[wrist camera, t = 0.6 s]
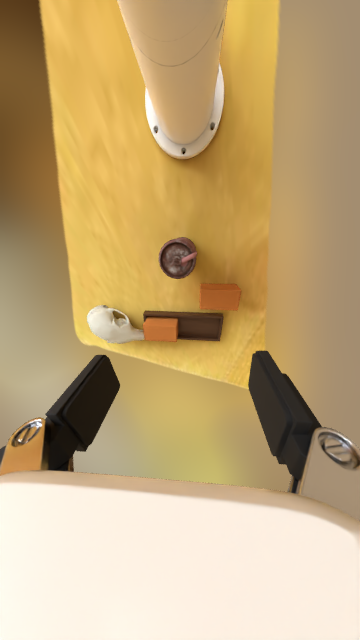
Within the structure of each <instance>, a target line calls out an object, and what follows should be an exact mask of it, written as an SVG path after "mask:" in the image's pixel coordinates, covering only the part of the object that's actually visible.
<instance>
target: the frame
mask: <svg viewBox="0 0 360 640" xmlns="http://www.w3.org/2000/svg"><path fill="white" fill-rule="evenodd" d="M143 315H144V322H145V321H146V319H147V317H172V318H178V336H177V339H186V340H206V341H220V337H221V330H222V324H223V314H221V313H194V312H166V311H145V312H144V314H143Z"/></svg>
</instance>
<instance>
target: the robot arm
mask: <svg viewBox="0 0 360 640" xmlns="http://www.w3.org/2000/svg"><path fill="white" fill-rule="evenodd" d="M117 2H118V5H119V7H120V10H121V13H122V16H123V20H124V23H125V26H126V29H127V32H128V35H129V38H130V41H131V43H132V46H133V49H134V52H135V55H136V58H137V61H138V64H139V67H140V70H141V73H142V76H143V79H144V82H145V85H146V93H145V105H146V113H147V119H148V122H149V126H150V129H151V131H152V134H153V136H154V138H155V140H156V142H157V143H158V145H159V146H160V147H161V149H162V150H163V151H165V152H166V153H167V154H168V155H170V156H172V157H174V158H177V159H188V158H192V157H194V156H196V155H198V154H199V153H201V152H202V151H203V150H204V149H205V148H206V147H207V146H208V144H209V143H210V142H211V140H212V138H213V137H214V135H215V133H216V130H217V128H218V126H219V122H220V119H221V115H222V110H223V103H224V80H223V74H222V69H221V66H220V63H219V60H220V53H221V46H222V38H223V31H224V24H225V16H226V9H227V2H228V0H117ZM211 128H213V130H211ZM156 131H158V133H156ZM183 152H185V154H183ZM248 386H249V391H250V394H251V396H252V399H253V402H254V405H255V408H256V410H257V414H258V416H259V419H260V422H261V425H262V428H263V431H264V434H265V436H266V439H267V442H268V445H269V448H270V451H271V453H272V455H273V456H276V457H277V460H278V462H279V464H286V465H287V467H288V470H289V472H290V474H291V475H292V478H291V481H290V485H289V488H288V492H283V491H277V490H271V489H262V488H252V487H244V486H234V485H223V484H213V483H200V482H190V481H179V480H167V479H155V478H143V477H132V476H120V475H107V474H94V473H81V472H74V468H73V454H74V452H75V450H77V451H86V450H87V448H88V446H89V445H90V444H91V443H92V442H93V440H94V438H95V436H96V434H97V432H98V430H99V428H100V426H101V424H102V422H103V420H104V418H105V416H106V414H107V412H108V410H109V408H110V406H111V404H112V402H113V401H114V399H115V396H116V394H117V393H118V391H119V388H120V383H119V381H118V379H117V376H116V374H115V372H114V369H113V367H112V364H111V362H110V359H109V358H108V357H107V356H106V355H96V356H95V357H94V358H93V359H92V360H91V361H90V362H89V364H88V365H87V366H86V367H85V368H84V370H83V371H82V372H81V373H80V374H79V375H78V377H77V378H76V379H75V380H74V381H73V382H72V384H71V385H70V386H69V387H68V388H67V389H66V391H65V392H64V393H63V394H62V395H61V397H60V398H59V399H58V400H57V401H56V402H55V404H54V405H53V406H52V407H51V408H50V409H49V411H48V412H47V413H46V416H47V418H46V419H45V420H44V419H43V418H35V419H32V420H30V421H28V422H26V423H25V424H23V425H22V426H21V427H19V428H18V429H17V430H16V431H15V432H14V433H13V434H12V436H11V437H10V438H9V440H8V442H7V445H6V446H4V447H3V448H1V449H0V640H360V449H359V447H357V445H356V444H355V443H354V442H353V441H352V440H350V439H349V438H348V437H347V436H345V435H344V434H342V433H340V432H338V431H336V430H334V429H331V428H326V427H322V426H321V425H320V423H319V422H318V421H317V419H316V417H315V416H314V414H313V413H312V411H311V410H310V408H309V407H308V405H307V404H306V402H305V401H304V399H303V398H302V396H301V395H300V393H299V392H298V390H297V389H296V387H295V386H294V384H293V383H292V381H291V380H290V378H289V377H288V376H287V375H286V374H282V373H281V371H280V370H279V368H278V367H277V365H276V363H275V362H274V360H273V359H272V357H271V355H270V354H269V352H268V351H256V353H254V354H253V355H252V362H251V369H250V377H249V384H248Z"/></svg>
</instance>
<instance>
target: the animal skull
mask: <svg viewBox="0 0 360 640" xmlns="http://www.w3.org/2000/svg"><path fill="white" fill-rule="evenodd" d="M113 311H117V312H118V313H120V314H123V315H124V316H125V318H126V319H123V318H119V319H117V318H115V317H114V315H113ZM87 322H88V324H89V326H90V329H91V331H92V332H93V333H94V334H95V335H96V336H98V337H100V338H102V339H104V340H107V342H108V343H118V344H121V343H126V342H130V341H133V340H140V341H141V340H144V339H145V337H144V330H138V329H136V328H134V327H132V324H130V321H129V318H128V317H127V315H126V314H124V313H122V312H120V311H118V310H116V309H113V308H109V307H108V306H106V305H100V306H96V307H95V308H93V309H91V310H90V312H89V313H88V315H87Z"/></svg>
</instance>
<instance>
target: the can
mask: <svg viewBox="0 0 360 640" xmlns="http://www.w3.org/2000/svg"><path fill="white" fill-rule="evenodd" d="M196 255H197V251H196V248H195V245H194V243H193V242H192V241H191V240H190V239H188V238H184V237H182V238H177V239H173V240H170V241H168V242H167V243H165V244H164V246H163V247H162V248H161V251H160V253H159V263H160V267H161V269H162V270H163V272H164V273H165V274H166V275H167V276H169V277H171V278H175V279H180V278H184V277H186V276H188V275H189V274H190V273H191V272H192V271H193V269H194V267H195V264H196Z"/></svg>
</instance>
